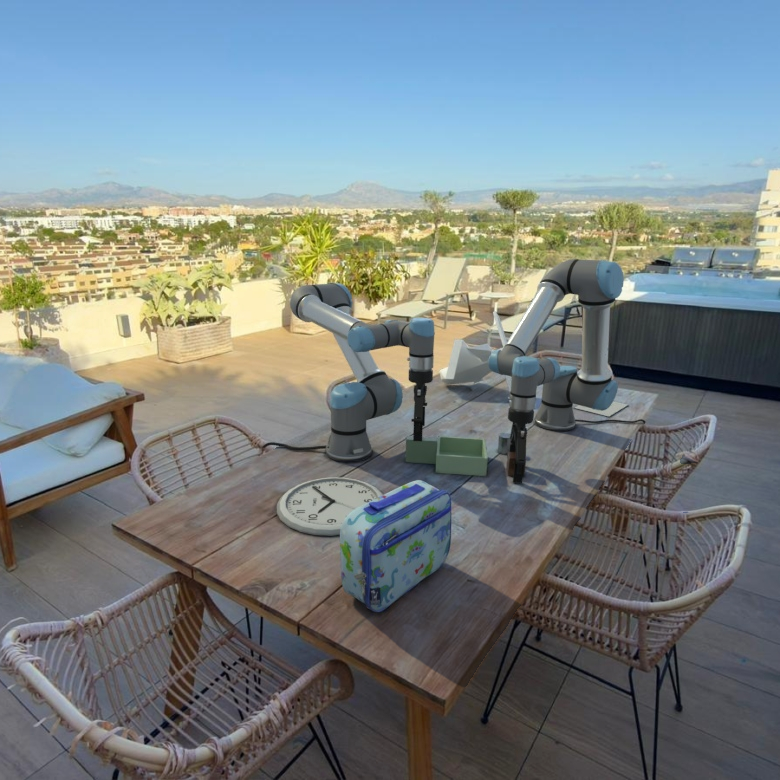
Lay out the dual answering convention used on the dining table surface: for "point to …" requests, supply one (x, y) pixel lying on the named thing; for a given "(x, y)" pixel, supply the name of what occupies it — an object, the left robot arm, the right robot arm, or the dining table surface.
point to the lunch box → (394, 543)
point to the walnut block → (512, 464)
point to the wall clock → (323, 504)
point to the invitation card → (608, 412)
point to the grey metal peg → (504, 443)
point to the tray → (449, 454)
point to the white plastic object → (471, 361)
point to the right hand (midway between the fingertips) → (515, 472)
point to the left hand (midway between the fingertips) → (419, 432)
